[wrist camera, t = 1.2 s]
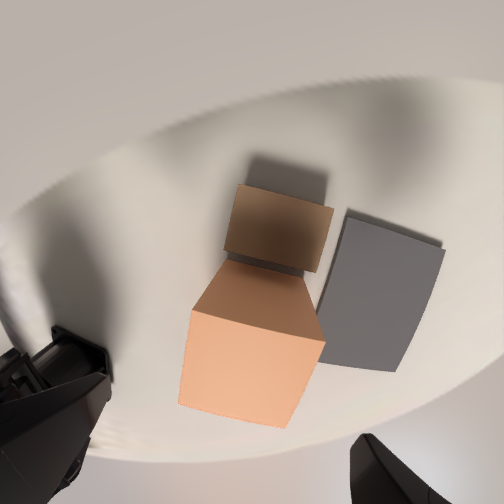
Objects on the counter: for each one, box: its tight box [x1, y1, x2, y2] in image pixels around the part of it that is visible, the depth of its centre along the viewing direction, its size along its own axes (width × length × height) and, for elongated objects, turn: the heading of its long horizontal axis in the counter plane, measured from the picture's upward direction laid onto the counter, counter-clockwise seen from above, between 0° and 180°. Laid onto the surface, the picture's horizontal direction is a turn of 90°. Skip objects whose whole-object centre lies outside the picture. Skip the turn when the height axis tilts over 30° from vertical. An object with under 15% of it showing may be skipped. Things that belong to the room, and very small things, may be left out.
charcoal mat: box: [316, 216, 446, 372], centre depth 17 cm, size 8×10×1 cm
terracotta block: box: [178, 259, 326, 428], centre depth 14 cm, size 5×5×8 cm
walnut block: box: [224, 184, 334, 273], centre depth 15 cm, size 5×4×3 cm
